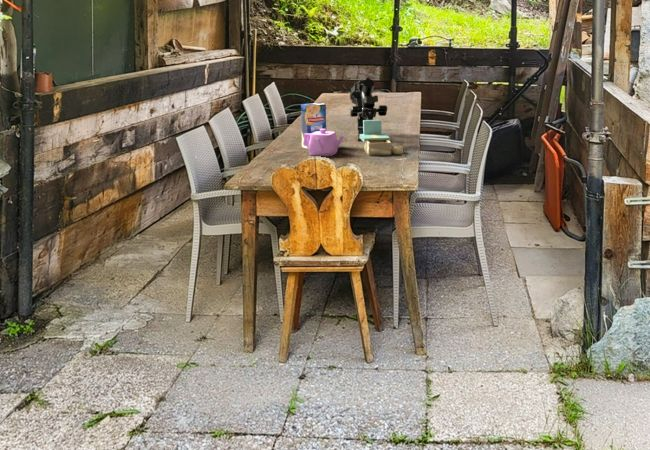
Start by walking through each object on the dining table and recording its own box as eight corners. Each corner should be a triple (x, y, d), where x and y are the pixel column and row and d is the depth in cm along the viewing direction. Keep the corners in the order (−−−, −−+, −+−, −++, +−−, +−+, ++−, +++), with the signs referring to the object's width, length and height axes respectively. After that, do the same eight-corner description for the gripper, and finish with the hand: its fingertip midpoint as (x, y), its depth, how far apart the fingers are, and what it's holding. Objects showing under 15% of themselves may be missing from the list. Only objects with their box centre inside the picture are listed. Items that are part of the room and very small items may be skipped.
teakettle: (329, 149, 430) (329, 125, 426) (346, 154, 415) (346, 129, 412) (300, 153, 422) (299, 128, 419) (316, 158, 407) (315, 132, 404)
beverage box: (326, 146, 439) (325, 104, 433) (307, 148, 434) (306, 105, 428) (320, 144, 444) (319, 102, 439) (301, 146, 439) (300, 104, 434)
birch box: (364, 150, 424) (364, 139, 423) (385, 150, 426) (386, 138, 424) (369, 155, 411) (368, 143, 409) (391, 154, 412) (391, 142, 411)
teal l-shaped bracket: (359, 138, 432) (359, 120, 429) (384, 137, 433) (384, 119, 431) (364, 142, 418) (364, 124, 416) (389, 141, 419) (389, 123, 417)
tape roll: (391, 153, 415) (391, 147, 414) (393, 152, 420) (393, 145, 419) (402, 154, 414) (402, 147, 413) (403, 152, 419) (403, 146, 418)
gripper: (350, 90, 435) (354, 114, 427) (386, 89, 437) (390, 113, 429) (348, 104, 444) (352, 128, 436) (383, 103, 446) (387, 127, 438)
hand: (370, 123), depth 435 cm, fingers closed
